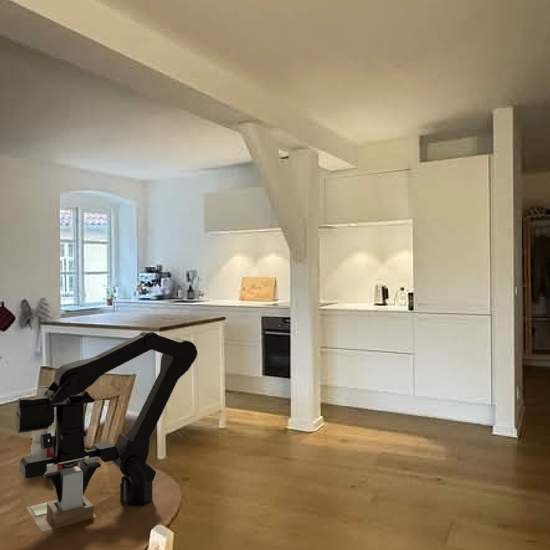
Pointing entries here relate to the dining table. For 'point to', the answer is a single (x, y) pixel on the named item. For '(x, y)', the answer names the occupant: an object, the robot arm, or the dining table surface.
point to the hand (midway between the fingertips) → (70, 499)
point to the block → (71, 489)
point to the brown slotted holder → (59, 514)
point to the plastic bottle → (37, 434)
